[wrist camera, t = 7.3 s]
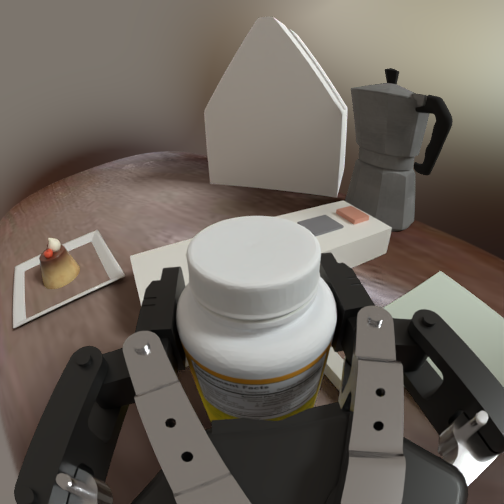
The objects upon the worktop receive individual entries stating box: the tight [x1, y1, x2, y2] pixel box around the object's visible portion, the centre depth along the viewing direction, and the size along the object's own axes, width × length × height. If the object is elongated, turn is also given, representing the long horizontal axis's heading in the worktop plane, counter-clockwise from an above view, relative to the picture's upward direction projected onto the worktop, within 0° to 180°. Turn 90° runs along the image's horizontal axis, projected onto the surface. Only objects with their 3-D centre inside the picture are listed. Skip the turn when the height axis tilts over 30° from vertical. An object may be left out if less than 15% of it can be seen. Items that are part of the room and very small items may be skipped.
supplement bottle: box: [176, 216, 337, 423], centre depth 11 cm, size 6×6×10 cm
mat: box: [384, 271, 504, 388], centre depth 16 cm, size 12×12×1 cm
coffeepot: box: [345, 68, 452, 231], centre depth 28 cm, size 15×9×18 cm, turn 15°
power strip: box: [130, 201, 392, 306], centre depth 23 cm, size 22×10×3 cm, turn 117°
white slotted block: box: [204, 16, 347, 198], centre depth 40 cm, size 19×15×25 cm
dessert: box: [13, 230, 125, 328], centre depth 24 cm, size 12×12×5 cm
